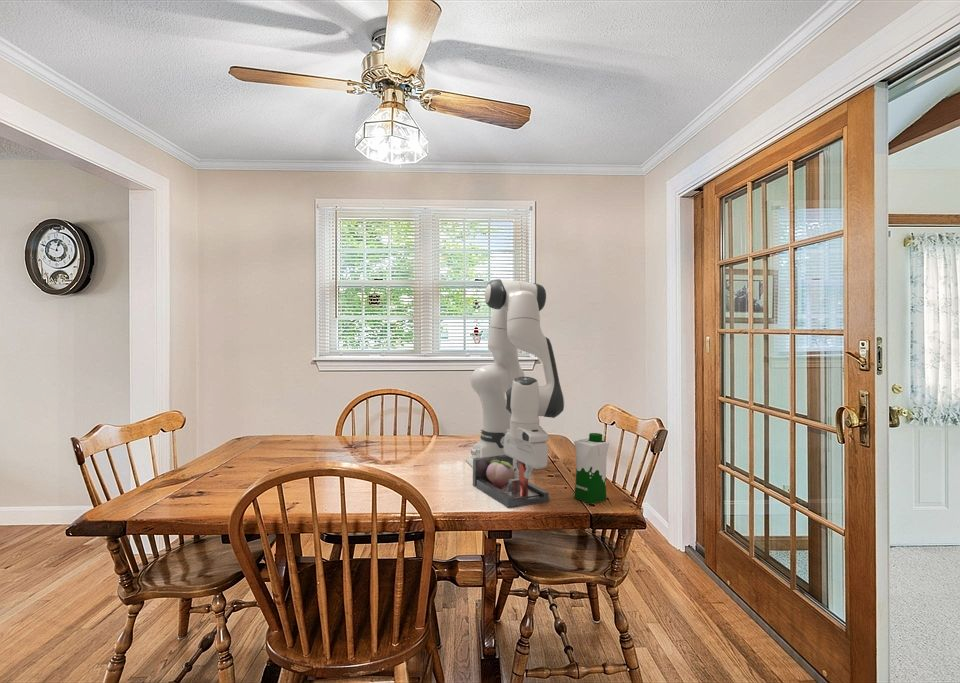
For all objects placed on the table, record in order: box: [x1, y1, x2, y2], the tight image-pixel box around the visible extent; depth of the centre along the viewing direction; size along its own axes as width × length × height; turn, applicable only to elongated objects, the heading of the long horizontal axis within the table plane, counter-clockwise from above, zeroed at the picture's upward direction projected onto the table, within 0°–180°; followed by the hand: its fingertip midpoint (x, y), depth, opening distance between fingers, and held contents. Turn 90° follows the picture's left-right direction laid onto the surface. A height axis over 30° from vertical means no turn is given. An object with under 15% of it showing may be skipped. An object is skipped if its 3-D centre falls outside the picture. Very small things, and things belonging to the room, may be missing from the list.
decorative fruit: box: [486, 458, 515, 489], centre depth 170 cm, size 9×8×10 cm
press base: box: [472, 455, 550, 509], centre depth 165 cm, size 24×14×9 cm, turn 26°
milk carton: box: [573, 432, 610, 505], centre depth 160 cm, size 9×9×20 cm
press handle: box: [506, 462, 540, 500], centre depth 159 cm, size 6×10×12 cm, turn 116°
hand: (523, 476), depth 157 cm, fingers closed on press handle, 3 cm apart
